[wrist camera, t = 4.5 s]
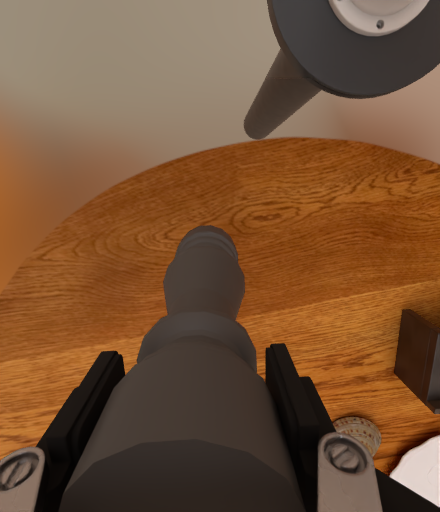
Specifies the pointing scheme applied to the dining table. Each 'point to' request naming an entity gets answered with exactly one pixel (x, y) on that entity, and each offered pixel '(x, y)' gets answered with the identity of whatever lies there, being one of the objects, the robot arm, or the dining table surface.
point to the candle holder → (190, 407)
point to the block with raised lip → (419, 358)
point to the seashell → (360, 431)
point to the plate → (421, 470)
